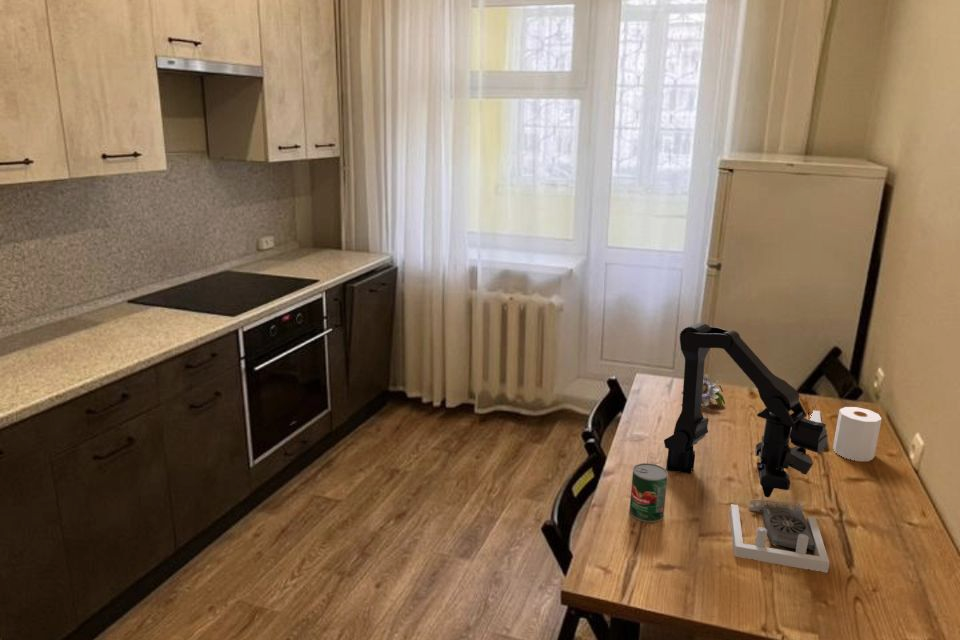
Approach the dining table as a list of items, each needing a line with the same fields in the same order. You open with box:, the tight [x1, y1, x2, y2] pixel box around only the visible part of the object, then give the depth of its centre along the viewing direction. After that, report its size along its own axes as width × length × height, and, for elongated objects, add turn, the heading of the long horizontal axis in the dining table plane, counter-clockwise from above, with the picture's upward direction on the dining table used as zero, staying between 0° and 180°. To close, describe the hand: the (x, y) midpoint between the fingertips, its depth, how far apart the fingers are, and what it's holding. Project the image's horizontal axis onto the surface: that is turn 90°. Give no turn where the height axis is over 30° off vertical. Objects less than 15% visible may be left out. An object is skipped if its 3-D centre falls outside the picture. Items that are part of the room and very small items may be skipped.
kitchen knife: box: [810, 410, 828, 450], centre depth 210 cm, size 29×3×5 cm
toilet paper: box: [832, 406, 882, 462], centre depth 193 cm, size 10×10×12 cm
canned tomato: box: [628, 462, 669, 523], centre depth 161 cm, size 8×8×11 cm
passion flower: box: [681, 373, 726, 408], centre depth 226 cm, size 11×11×12 cm
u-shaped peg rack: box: [729, 503, 831, 574], centre depth 152 cm, size 18×18×6 cm
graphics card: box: [748, 498, 815, 551], centre depth 157 cm, size 17×4×12 cm
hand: (766, 496), depth 169 cm, fingers closed
